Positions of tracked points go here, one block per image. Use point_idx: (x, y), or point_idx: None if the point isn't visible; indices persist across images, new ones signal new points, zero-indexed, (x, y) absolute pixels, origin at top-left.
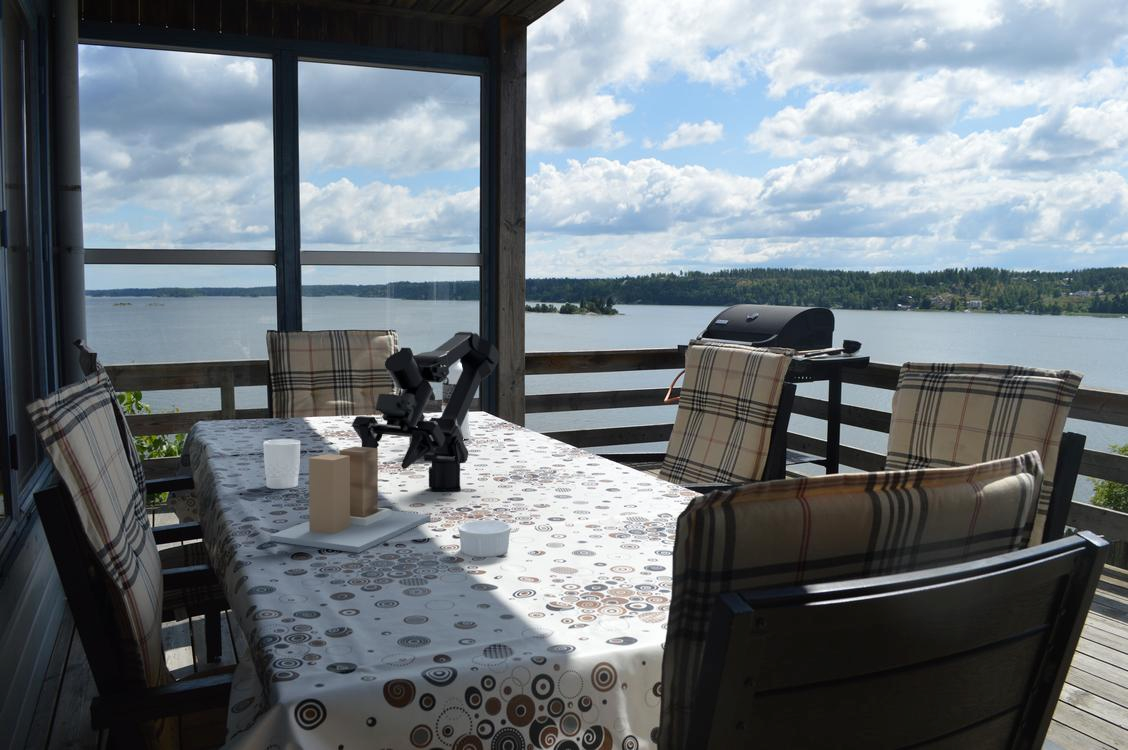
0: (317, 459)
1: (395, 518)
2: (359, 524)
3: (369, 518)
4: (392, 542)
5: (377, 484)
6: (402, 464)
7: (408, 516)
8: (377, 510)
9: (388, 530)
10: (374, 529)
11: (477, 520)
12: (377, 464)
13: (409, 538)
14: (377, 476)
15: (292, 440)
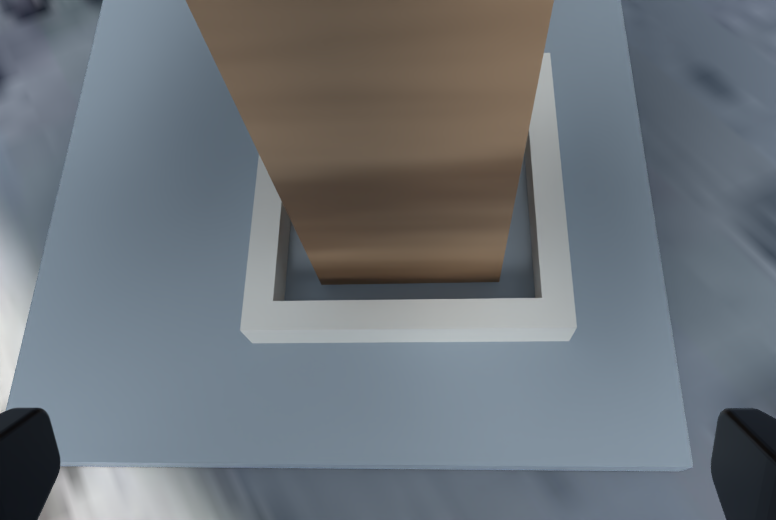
0: None
1: (188, 284)
2: None
3: None
4: (76, 19)
5: (270, 173)
6: (15, 414)
7: (128, 363)
8: (315, 267)
9: (120, 65)
10: (197, 54)
11: None
12: (209, 43)
13: (21, 95)
14: (248, 126)
15: None
